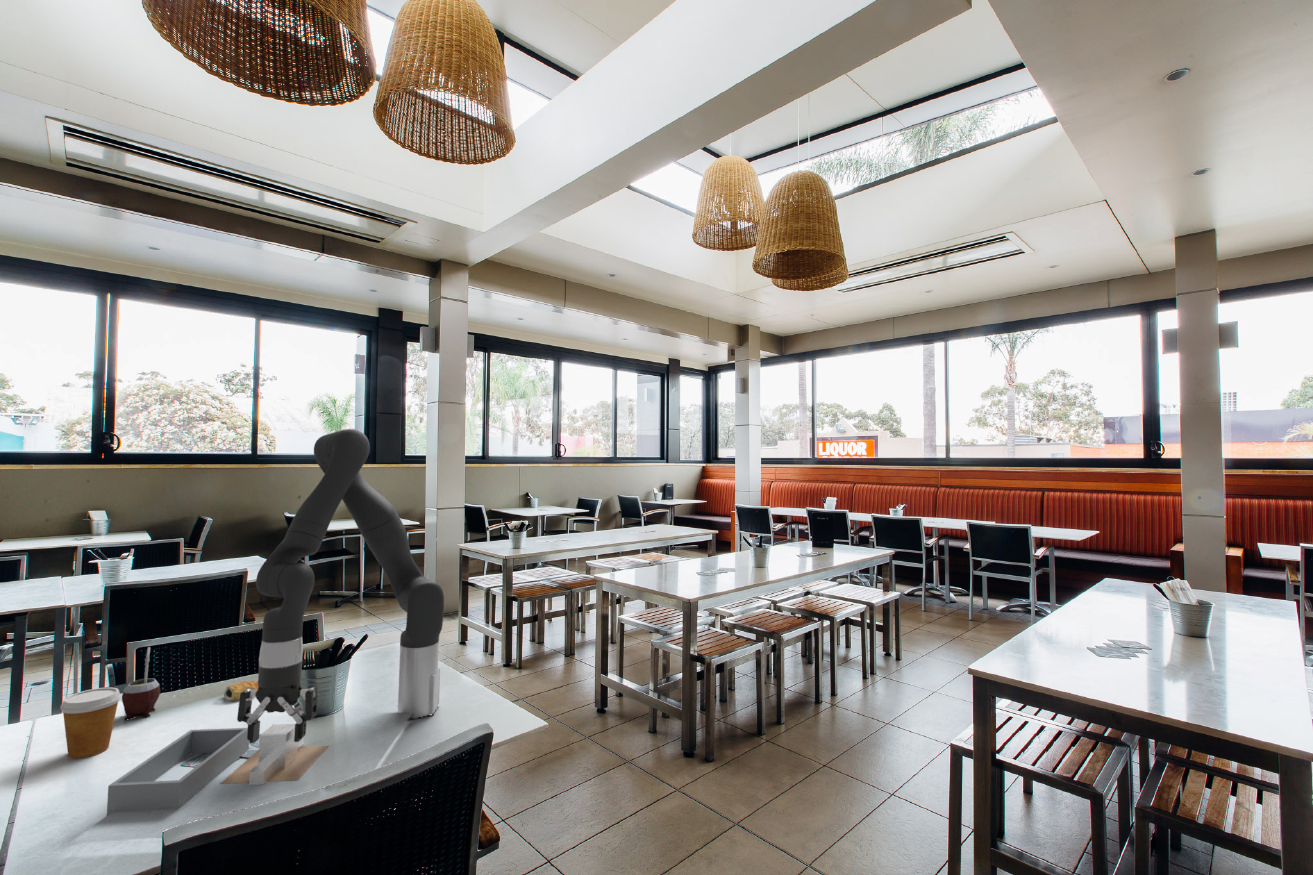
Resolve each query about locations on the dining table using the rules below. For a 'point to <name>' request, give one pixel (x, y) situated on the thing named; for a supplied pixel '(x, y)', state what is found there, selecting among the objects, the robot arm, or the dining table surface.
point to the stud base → (291, 773)
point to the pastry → (238, 690)
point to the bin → (148, 794)
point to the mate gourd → (141, 695)
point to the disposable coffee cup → (89, 721)
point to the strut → (275, 752)
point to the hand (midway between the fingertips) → (276, 740)
